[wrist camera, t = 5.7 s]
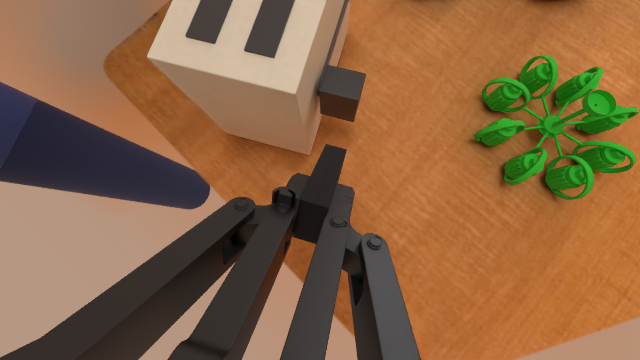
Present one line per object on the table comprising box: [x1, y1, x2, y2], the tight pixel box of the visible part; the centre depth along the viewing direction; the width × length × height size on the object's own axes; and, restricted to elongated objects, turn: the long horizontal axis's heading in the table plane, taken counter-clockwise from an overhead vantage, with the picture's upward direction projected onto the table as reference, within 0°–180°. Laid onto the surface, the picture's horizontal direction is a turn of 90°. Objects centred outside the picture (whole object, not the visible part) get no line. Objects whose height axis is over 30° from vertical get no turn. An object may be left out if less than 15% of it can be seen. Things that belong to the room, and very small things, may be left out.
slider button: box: [319, 65, 366, 122], centre depth 22 cm, size 3×2×4 cm
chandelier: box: [474, 56, 638, 200], centre depth 25 cm, size 15×15×7 cm
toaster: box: [147, 0, 350, 155], centre depth 24 cm, size 10×16×13 cm, turn 164°
